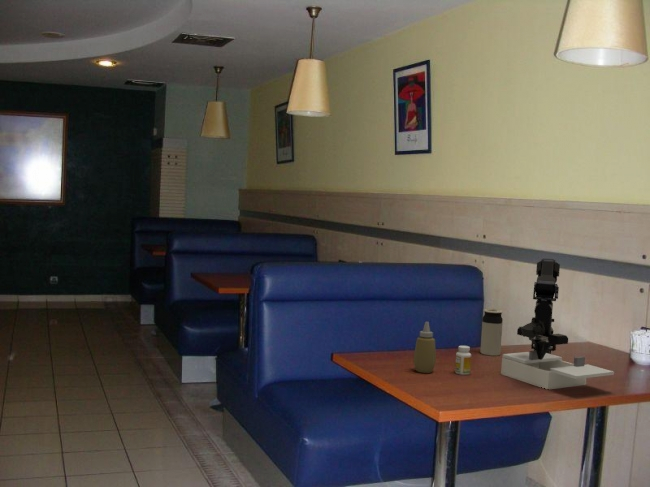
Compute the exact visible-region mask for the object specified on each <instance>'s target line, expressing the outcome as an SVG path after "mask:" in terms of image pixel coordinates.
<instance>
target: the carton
mask: <svg viewBox="0 0 650 487" xmlns="http://www.w3.org/2000/svg"><path fill="white" fill-rule="evenodd" d="M568 366H574V363H571V362H568V361H564V360H556V361H547V362H537V363H527V364H524V363H521V362H518V361H514V360H511V359H508V358H504V357H502V358H501V367H500V368H501V369H500V374H501V375H502V376H506V377H509V378H511V379H514V380H517V381H521V382H523V383H526V384H530V385H533V386H535V387H539V388H541V387H542V389H544V388H545V389H544V390H547V389H549V390H553V389H554V390H555V389H562V388H563V389H564V388H571V387H577V386H586V385H587V378H582V379H574V378H570V377H567V376H564V375H561V374H557V373H554V372H551V371H550V368H559V367H568Z"/></svg>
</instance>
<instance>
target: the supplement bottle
mask: <svg viewBox="0 0 650 487" xmlns="http://www.w3.org/2000/svg"><path fill="white" fill-rule="evenodd" d="M470 348H471V347H470V346H468V345H459V346H458V348H457V350H458V351H457V352H456V353H455V364H454V366H455V367H454V372H455V374H457V375H460V376H461V375H463V376H465V375H467V376H468V375H470V374H471V365H472V364H471V363H472V354H471V353H470V350H471V349H470Z"/></svg>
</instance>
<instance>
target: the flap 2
mask: <svg viewBox="0 0 650 487" xmlns="http://www.w3.org/2000/svg"><path fill="white" fill-rule="evenodd" d="M585 360H586V357H585V356H576V357H575V356H574V358H573V364H574V366H568V367H559V368H550V371H551V372H554V373H557V374H561V375H564V376H567V377H570V378H574V379H582V378H586V379H589V378H597V377H598V378H599V377H605V376H613V375H615V371H613V370H609V369H605V368H602V367H599V366H596V365H591V364H589V363H587V364H585V363H586V361H585Z"/></svg>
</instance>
